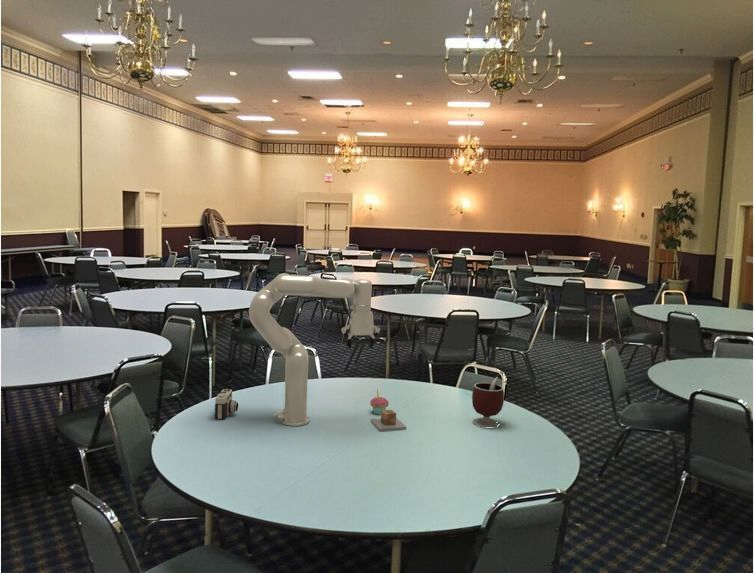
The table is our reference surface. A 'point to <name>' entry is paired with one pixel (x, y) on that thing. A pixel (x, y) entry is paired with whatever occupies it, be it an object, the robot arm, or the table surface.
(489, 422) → the mate gourd
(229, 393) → the camera
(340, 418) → the table surface
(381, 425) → the slate coaster
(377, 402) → the cupcake
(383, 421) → the walnut cube
